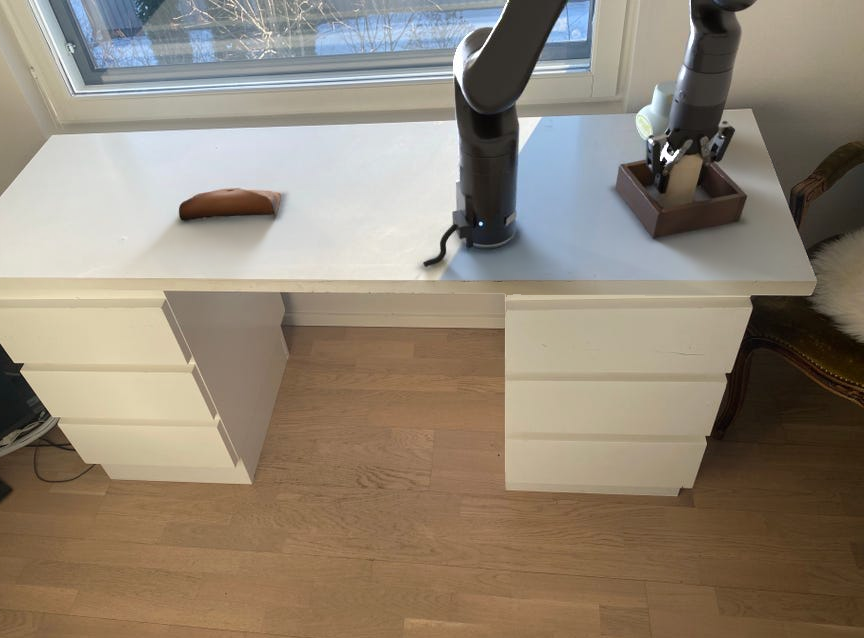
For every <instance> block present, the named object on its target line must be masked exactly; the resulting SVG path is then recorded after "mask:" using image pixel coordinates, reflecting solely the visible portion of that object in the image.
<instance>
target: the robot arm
mask: <svg viewBox="0 0 864 638" xmlns="http://www.w3.org/2000/svg"><path fill="white" fill-rule="evenodd" d="M757 1H758V0H689V13H688V14H689V34H688V38H687V41H686V44H685V51H684V53H683V54H684V55H683V58H682V63H681V66H680V69H679V72H678V75H677V78H676V81H677V83H676V87H675V92H674V97H673V101H672V106H671V111H670V115H669V126H668V128H667V130H666V131H665V133H664V134H663V135H660V136H657V137H654V136H653V135H650V136H648V137H647V139H646V140H645V143H646V145H645V146H646V147H645V149H646V150H645V151H646V152H645V155H646V156H645V157H646V158H645V160H646V166H647V167H648V168H649V169H650V170H651V171H652V173H653V174H656V177H655V182H654V185H653V187H654V188H655V189H656V190H657V192H658V194H659V193H660V194H663V193H666V189H667V185H668V181H669V177H670V175H669V172H670V171H671V169H672V168H673V166H674V165H675V164H678V162H679V161H680V159H681V158H682V156H684V155H688V154H697V153H699V154H700V156H701V157H702V159H703V163H702V166H701V170H700V174H699V178H698V182H697V185H696V188H698V187H701V183H703V182H704V180H705V176H706V173H707V169H708V167H709V166H710V165H711V163H713V162H715V163H720V162H721V161H722V160H723V158H724V156H725V154H726V152H727V149H728V147H729V146H730V144H731V141H732V139H733V136H734V135H735V132H736V128H734V127H733V125H731V124H730V123H729V122H728V121H727V120H724V121H721V120H722V118H723V114H724V110H725V106H726V103H727V99H728V95H729V91H730V88H731V85H732V80H733V75H734V67H735V63H736V58H737V55H738V51H739V47H740V44H741V40H742V35H743V32H742V31H743V30H742V26H741V23H740V22H739V20H738V17H737V14H736V13H737V12H742V11H745V10H747V9H749V8H751V7H752V6H753V5H754V4H755V3H756V2H757ZM569 2H570V0H507V1H506V3H505V6H504V8H503V10H502V12H501V15H500V17H499V18H498V20H497V22H496V24H495V25H494V27H492V26H484V27H480V28H477V29H474V30H473V31H471V32H469V33H468V34H467V35H466V36H465V37H464V38H463V39H462V40H461V42H460V43H459V45H458V47H457V48H456V52H455V55H454V58H453V92H454V95H453V96H454V116H455V122H456V130H457V139H458V141H457V142H458V144H457V145H458V178H459V179H457V180H456V181H455V199H456V200H455V201H456V205H455V206H456V210H454V211H452V213H451V215H452V224H451V226H450V227H449V228H447V230H446V231H445V232H444V233H443V235H442V236H441V238H440V242H439V249H440V250H439V253H438V254H437V256H435V257H433V258H430V259H427V260H425V261H423V262H422V265H423V266H424V267H425V268H428V267H430V266H432V265H436V264H438V263H440V262H441V261H442V260H444V258H445V256H446V255H447V242H448V240H449V238H450V237H451V236H452V235H453V234H454V233H455V232H456V234H457V236H458V239H459V240H462V241H463V244H464V246H465V248H467V249H468V248H475V249H482V250H492V249H493V250H494V249H498V248H501V247H503V246H506V245H508V244H509V243H510V242H511V241H513V240H514V238H515V236H516V230H517V229H516V223H517V222H516V218H517V192H518V172H519V171H518V169H519V150H520V122H519V117H518V110H517V101H518V100H519V99H520V98H521V96H522V95H523V94H524V92H525V90H526V88H527V86H528V84H529V83H530V80H531V77H532V75H533V73H534V71H535V68H536V66H537V64H538V62H539V59H540V57H541V55H542V53H543V50H544V48H545V46H546V44H547V42H548V40H549V38H550V35H551V34H552V31H553V30H554V27H555V25H556V24H557V22H558V20H559V18H560V17H561V15H562V13H563V11H564V10H565V8H566V7H567V5H568V3H569ZM711 141H712V142H711ZM666 142H667V144H666V145H664V143H666ZM710 142H711V144H709V143H710ZM672 151H673V152H674V153H675V154H674V155H673V154H672ZM660 157H661V158H660ZM667 160H668V161H667ZM666 162H667V163H666ZM665 164H666V165H665Z"/></svg>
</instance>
